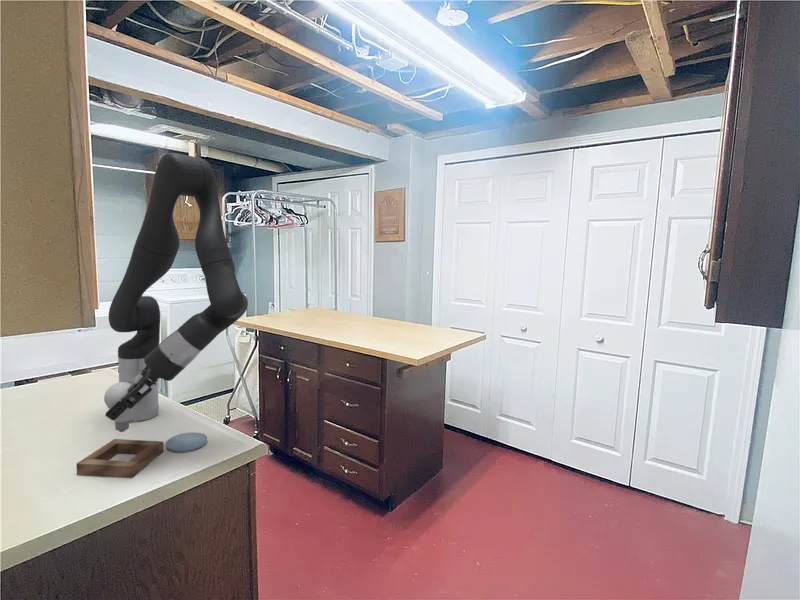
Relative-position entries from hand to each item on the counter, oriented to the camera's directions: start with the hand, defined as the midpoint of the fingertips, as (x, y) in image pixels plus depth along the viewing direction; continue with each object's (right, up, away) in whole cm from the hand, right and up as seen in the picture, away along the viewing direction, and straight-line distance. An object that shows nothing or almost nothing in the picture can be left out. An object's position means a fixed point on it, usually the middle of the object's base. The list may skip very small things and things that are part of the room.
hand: (112, 411), depth 92 cm
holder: (+1, -12, +2) cm, 12 cm away
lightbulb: (+1, -5, +1) cm, 5 cm away
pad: (+10, -11, +12) cm, 19 cm away
